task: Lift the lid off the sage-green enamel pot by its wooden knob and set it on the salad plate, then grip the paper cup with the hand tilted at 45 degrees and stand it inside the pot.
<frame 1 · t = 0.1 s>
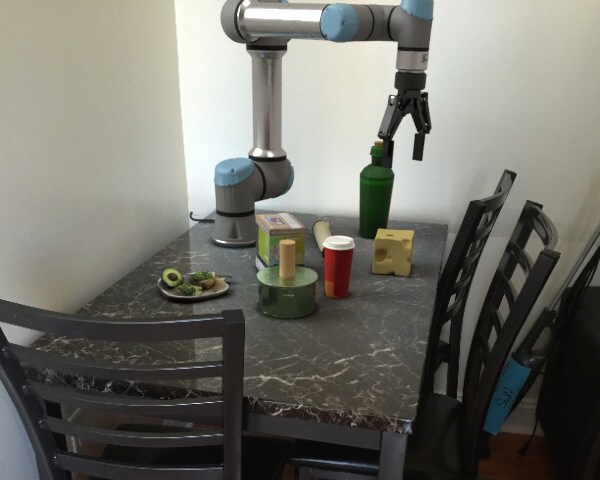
hand: (402, 164, 166), 28 cm above the table, tool pointing down, fingers open, 13 cm apart
bottle: (372, 235, 208), on the table
paper cup: (336, 294, 164), on the table
tea box: (279, 275, 175), on the table
lid: (287, 277, 152), point 7 cm above the table, touching pot
pot: (286, 307, 156), on the table
cheese: (391, 269, 180), on the table
salad plate: (191, 290, 165), on the table
rolling pin: (325, 248, 195), on the table
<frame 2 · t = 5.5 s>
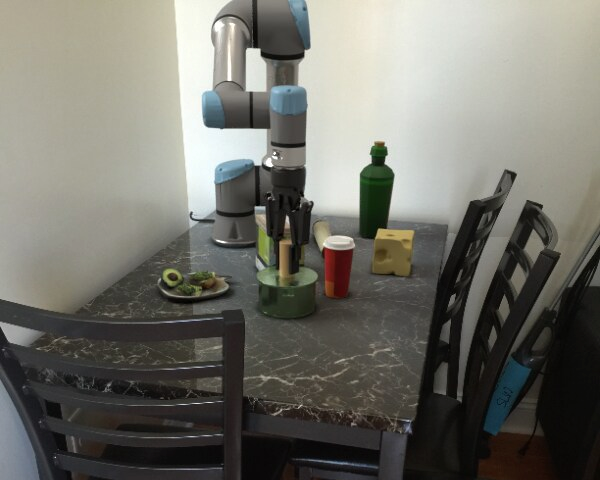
hand: (287, 270, 151), 9 cm above the table, tool pointing down, fingers closed on lid, 4 cm apart
lid: (287, 277, 152), point 8 cm above the table, touching gripper, pot
everything else where it was.
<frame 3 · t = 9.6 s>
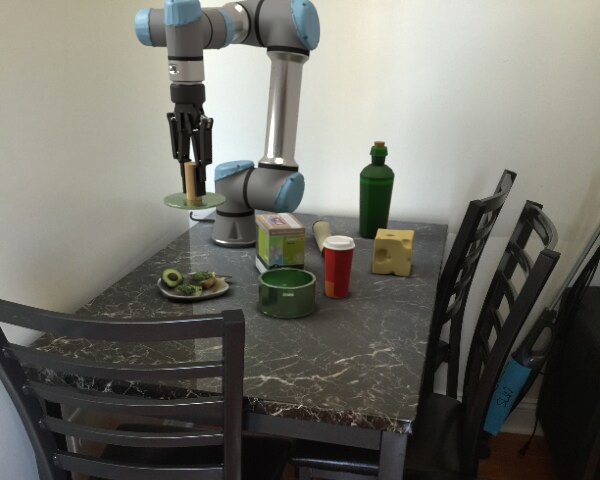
hand: (194, 193, 151), 24 cm above the table, tool pointing down, fingers closed on lid, 4 cm apart
lid: (194, 201, 152), point 22 cm above the table, touching gripper
everything else where it was.
when the fingers open (6 cm above the table, at t = 13.9 s): lid stays where it is, resting on salad plate.
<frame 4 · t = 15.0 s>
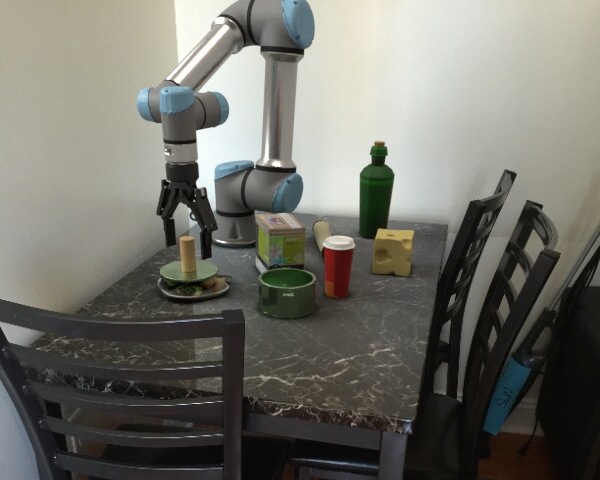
hand: (188, 252, 160), 10 cm above the table, tool pointing down, fingers open, 13 cm apart
lid: (189, 271, 162), point 5 cm above the table, touching salad plate
salad plate: (190, 290, 165), on the table, touching lid
everything else where it was.
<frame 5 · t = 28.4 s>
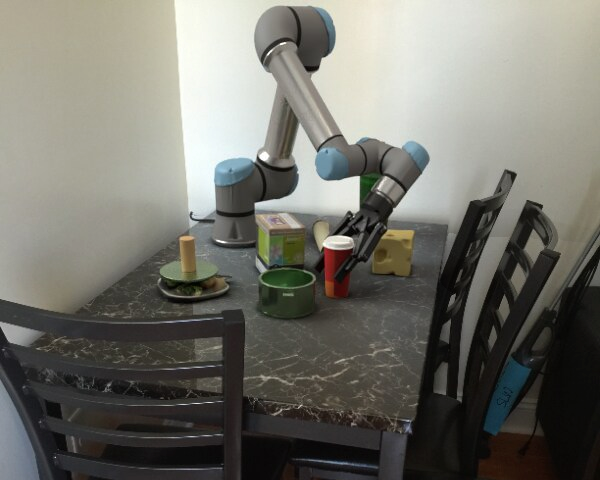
hand: (326, 275, 159), 6 cm above the table, tool tilted 45°, fingers closed on paper cup, 8 cm apart
paper cup: (336, 294, 164), on the table, touching gripper
everything else where it was.
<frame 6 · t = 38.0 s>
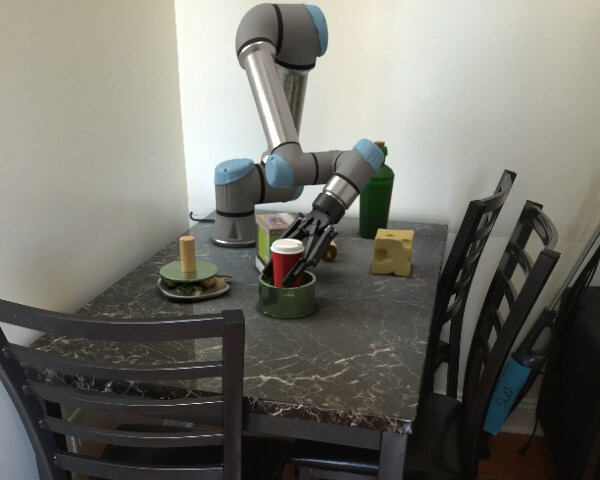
hand: (275, 280, 151), 7 cm above the table, tool tilted 45°, fingers closed on paper cup, 8 cm apart
paper cup: (287, 301, 155), point 2 cm above the table, touching gripper
everything else where it was.
when the fingers open (8 cm above the table, at t = 44.7 s): paper cup drops 2 cm, resting on pot.
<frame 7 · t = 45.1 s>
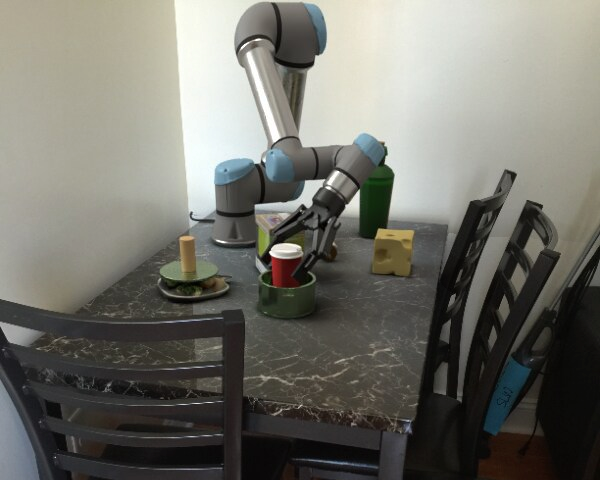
hand: (278, 270, 150), 10 cm above the table, tool tilted 45°, fingers open, 13 cm apart
paper cup: (285, 305, 156), resting on pot
everything else where it was.
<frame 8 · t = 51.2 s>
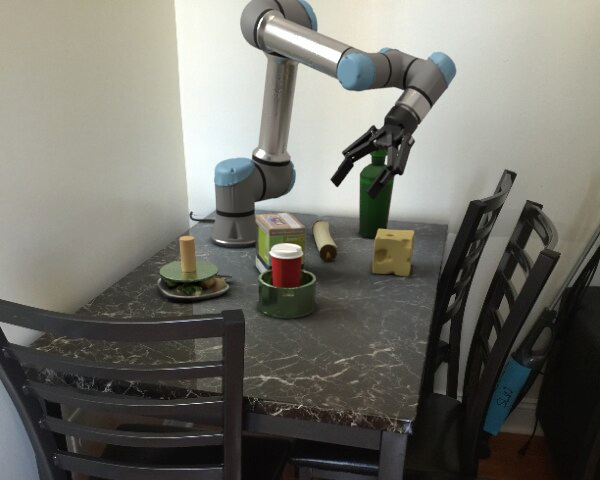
hand: (351, 189, 151), 26 cm above the table, tool tilted 45°, fingers open, 13 cm apart
nothing on the table moved.
at the end: lid 0.1 cm from the salad plate (horizontally); paper cup inside the target area in the pot (0.6 cm from its centre), point 0.3 cm above the pot's base; paper cup tilted 0° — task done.
